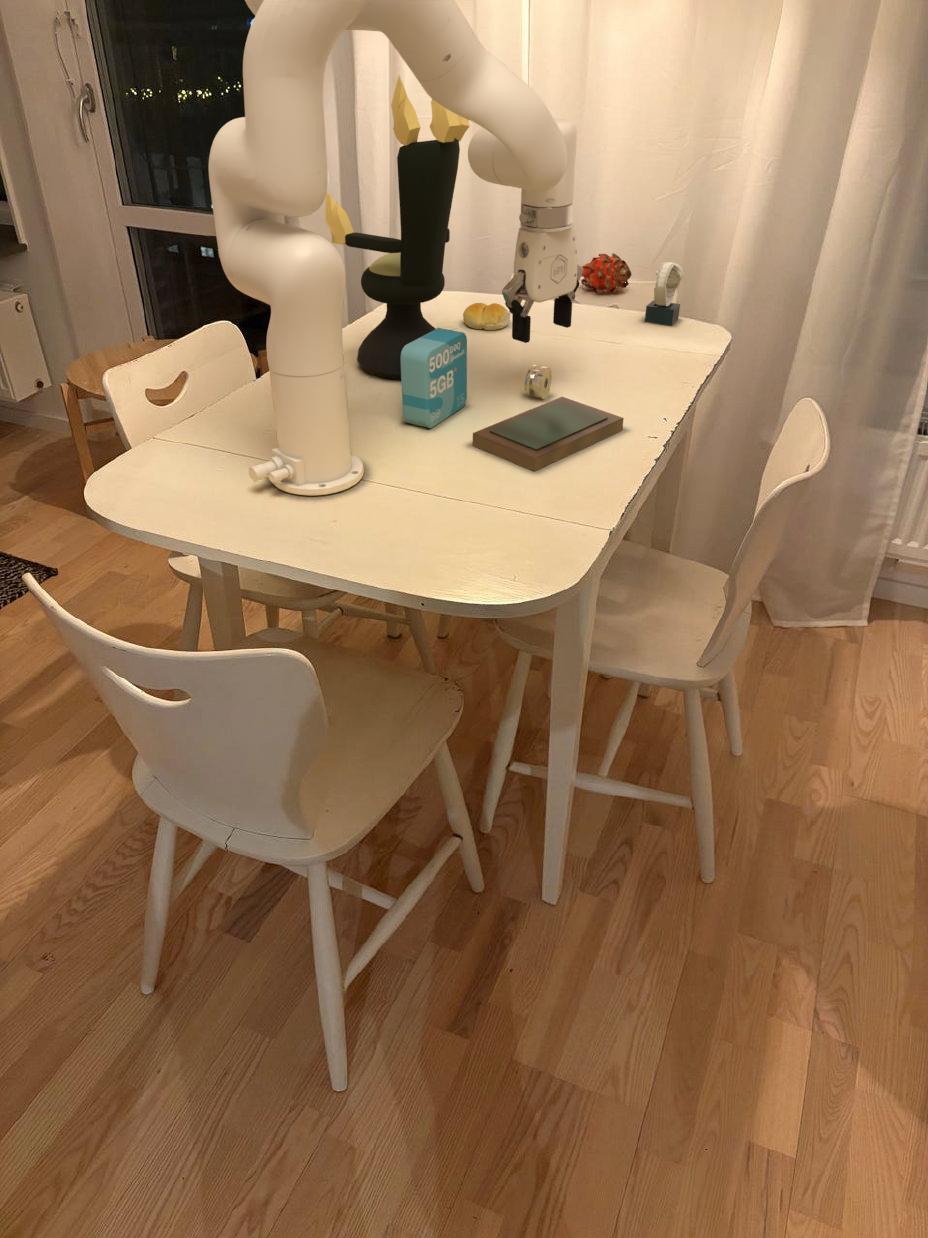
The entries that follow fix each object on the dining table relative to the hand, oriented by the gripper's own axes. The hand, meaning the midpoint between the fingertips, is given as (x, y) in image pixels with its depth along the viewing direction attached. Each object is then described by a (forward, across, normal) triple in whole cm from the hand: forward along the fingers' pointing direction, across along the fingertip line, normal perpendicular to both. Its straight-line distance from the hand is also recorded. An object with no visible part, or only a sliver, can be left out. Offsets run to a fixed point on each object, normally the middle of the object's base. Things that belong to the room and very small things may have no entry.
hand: (541, 332), depth 143 cm
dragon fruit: (+11, +55, +30) cm, 64 cm away
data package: (+10, -18, +6) cm, 21 cm away
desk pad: (+10, -12, -12) cm, 20 cm away
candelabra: (+10, -6, +24) cm, 27 cm away
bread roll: (+11, +21, +32) cm, 40 cm away
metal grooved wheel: (+10, -1, 0) cm, 11 cm away
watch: (+11, +47, +9) cm, 49 cm away
